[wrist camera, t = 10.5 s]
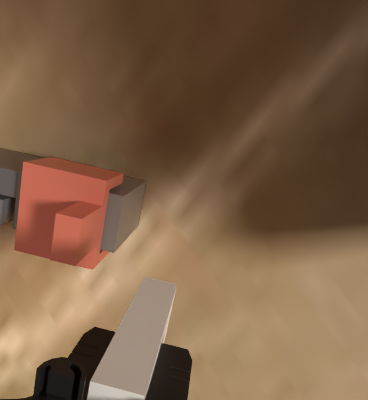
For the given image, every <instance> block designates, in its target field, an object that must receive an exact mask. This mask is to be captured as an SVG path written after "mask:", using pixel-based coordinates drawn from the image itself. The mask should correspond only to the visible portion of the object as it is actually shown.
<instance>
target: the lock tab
mask: <svg viewBox="0 0 368 400" xmlns="http://www.w3.org/2000/svg"><path fill="white" fill-rule="evenodd" d="M123 175H124V173H120V172H115V171H111V170H107V169H102V168H98V167H94V166H89V165H85V164H80V163H76V162H72V161H67V160H63V159H58V158H54V157H49V158H43V159H37V160H30V161H24V162H23V169H22V179H21V189H20V199H19V209H18V219H17V229H16V239H15V249H14V250H16V251H20V252H24V253H28V254H32V255H36V256H40V257H44V258H48V259H50V260H53V261H57V262H61V263H65V264H69V265H73V266H75V265H76V266H80V267H84V268H88V269H92V270H93V269H94V268H95V267H96V265H97V264H98V263H99V262H100V261H101V260H102V259H103V258H104V257H105V256H106V255H107V254H108V253H109V252H108V251H104V250H100V247H101V241H102V234H103V228H104V222H105V216H106V210H107V203H108V197H109V191H110V189H112V188H114V187H116V186H118V185H120V184H122V181H123Z"/></svg>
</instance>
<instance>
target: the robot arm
mask: <svg viewBox="0 0 368 400" xmlns="http://www.w3.org/2000/svg"><path fill="white" fill-rule="evenodd" d="M176 287H177V284H174V283H170V282H166V281H162V280H158V279H154V278H149V277H144V279H143V281H142V283H141V285H140V287H139V289H138V291H137V293H136V295H135V296H134V298H133V300H132V302H131V304H130V306H129V308H128V310H127V312H126V314H125V316H124V317H123V319H122V321H121V323H120V325H119V327H118V329H117V331H116V332H113V331H109V330H105V329H101V328H98V327H94V328H92V329H91V330H89V331H87V332H86V333H84V334H83V336H82V337H81V339H80V340H79V342H78V344H77V345H76V346H75V348H74V349H73V351H72V353H71V354H70V355H69V357H68V358H65V357H60V358H54V359H51V360H48V361H46V362H44V363H43V364H41V365H40V366H39V367H38V368H37V371H36V379H35V387H34V395H33V396H31V397H27V398H22V399H0V400H187V398H188V390H189V382H190V373H191V366H192V359H191V356H190V354H189V351H188V350H187V349H184V348H180V347H176V346H172V345H168V344H164V340H165V337H166V332H167V328H168V323H169V319H170V314H171V310H172V305H173V301H174V296H175V292H176Z"/></svg>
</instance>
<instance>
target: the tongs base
mask: <svg viewBox="0 0 368 400" xmlns="http://www.w3.org/2000/svg"><path fill="white" fill-rule="evenodd" d="M37 159H43V158H42V157H38V156H34V155H29V154H25V153H21V152H16V151H12V150H7V149H3V148H0V194H1V195H5V196H9V197H14V198H16V202H15V212H14V222H13V228H14V229H17V219H18V209H19V199H20V189H21V179H22V169H23V162H24V161H30V160H37ZM145 186H146V181H143V180H139V179H135V178H130V177H126V176H123V181H122V184H120V185H118V186H116V187H114V188H112V189H110V191H109V197H108V203H107V210H106V216H105V222H104V228H103V234H102V241H101V247H100V250H104V251H108V252H112V253H114V252H115V251H116V250H117V249H118V248H119V246H120V245H121V244H122V243H123V242H124V241H125V240H126V239H127V238H128V236H129V235H130V234H131V233H132V232H133V231H134V230H135V229H136V228H137V226H138V224H139V218H140V213H141V208H142V202H143V197H144V191H145Z"/></svg>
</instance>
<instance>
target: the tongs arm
mask: <svg viewBox="0 0 368 400" xmlns="http://www.w3.org/2000/svg"><path fill="white" fill-rule="evenodd" d="M15 202H16V198H14V197H9V196H5V195H1V194H0V225H2V224H4V223H6V222H9V221H11V220H13V219H14V212H15Z"/></svg>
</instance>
